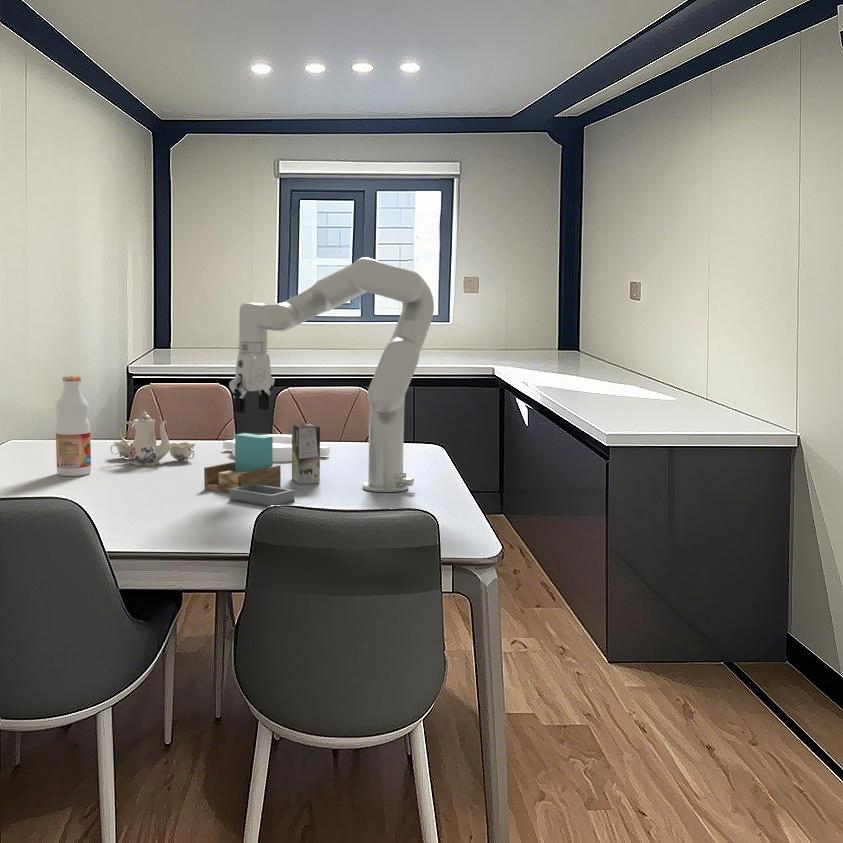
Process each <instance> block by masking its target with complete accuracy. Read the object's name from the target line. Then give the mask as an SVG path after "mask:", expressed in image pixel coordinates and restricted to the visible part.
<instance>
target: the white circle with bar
mask: <svg viewBox="0 0 843 843" xmlns="http://www.w3.org/2000/svg"><path fill="white" fill-rule="evenodd" d="M263 435H264V436H272V437H273V463H276V462H277V463H278V462H280V463H281V462H292V434H283V433H281V434H279V433H278V434H263ZM222 449H223V450H231V455H233V456H232V457H234V456H235V438H233V439H232V440H229V439H228V440H224V441H223V442H222ZM330 451H331V450H330V446H326V445H325V446H321V445H320V457H321V456H322V457H327V456H329V455H331V454H330Z"/></svg>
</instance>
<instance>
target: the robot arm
mask: <svg viewBox="0 0 843 843" xmlns="http://www.w3.org/2000/svg"><path fill="white" fill-rule="evenodd" d="M366 293H371V294H374V295H377V296H381V297H384V298H386V299H391V300H395V301H397V302H401V303H402V310H401V312H400V316H399V318H398V321H397V324H396V327H394V331H393V333H392V336H391V338H390V339H389V342H388V343H387V344H386V345H385V347H384V350H383V352H382V353H381V354H382V355H381V357H380V360H379V362H378V364H377V367H376V369H375V372H374V374H373V377H372V380H371V382H370V383H369V387H368V389H367V400H368V402H369V413H368V414H369V416H368V417H369V418H368V420H369V421H368V478H367V480H368V481H365V482H363V483H362V489H363V490H366V491H368V492H374V493H375V492H376V493H377V492H378V493H396V492H397V493H398V492H403V491H406V490H408V489H409V487H412V486H414V483H415V478H414V477H407V472H406V471H404V432H405V402H406V401H405V400H406V398H405V397H406V393H407V391H408V388H409V386H410V383H411V380H412V379H413V376H414V373H415V372H416V369H417V366H418V363H419V360H420V353H421V351H422V347H423V344H424V342H425V340H426V337H427V334H428V332H429V329H430V327H431V323H432V321H433V316H434V312H435V311H434V310H435V304H434V296H433V293H432V291H431V289H430V287H429V285H428V284H427V282H426V281H425V279H424V278H423V277H422V276H421V275H420V274H419V273H418V272H417V271H413V270H409V269H407V268H403V267H399V266H395V265H392V264H388V263H385V262H382V261H378V260H376V259H373V258H370V257H361V258H358V259H357V260H355V261H354V262H353V263H351V264H349V265H346V266H345V267H343V268H342V269H339V270H337V271H335V272H333V273H331V274H329V275H327V276H325V277H323V278H321V279H319V280H318V281H316V282H315V283H314V284H313V285H312V286H311V287H309V288H308V289H306V290H304V291H302V292H300V293H298V294H297V295H294V296H292V297H291V298H289V299H287V300H284V301H282V302H279V303H273V304H265V303H261V302H260V303H259V302H244V303H241V304H240V306H239V314H238V315H239V321H238V322H239V325H238V326H239V328H238V330H239V331H238V353H237V359H236V365H235V376H234V378H233V379H232V380H231V381H229V383H228V386H229V388H230V392H231V394H232V395H233V398H234V413H237V414H245V413H246V398H245V396H246V394H247V393H248V392H259V394H258V409H259V410H262V411H268V410H269V409H270V396H271V392H272V390H273V389H274V387H273V386H274V384H275V382H276V381H275V380H276V379H275V378H274V377H273V376H272V370H271V369H272V368H271V360H270V354H269V353H268V330H269V331H273V332H285V331H288V330H290V329H293V328H295V327H298V326H299V325H301V324H302V323H305V322H307V321H309V320H311V319H313V318H315V317H317V316H318V315H322V314H323V313H327V312H330V311H332V310H334V309H335V308H338V307H340V306H342V305H344V304H345V303H348V302H350V301H351V300H353V299H355V298H357V297H359V296H362V295H363V294H366Z"/></svg>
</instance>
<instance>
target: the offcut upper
mask: <svg viewBox="0 0 843 843" xmlns="http://www.w3.org/2000/svg"><path fill="white" fill-rule="evenodd" d="M219 482H223V483H229V484H235V485H240V484H241V472H234V471H225V472H220V473H219Z"/></svg>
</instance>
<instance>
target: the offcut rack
mask: <svg viewBox="0 0 843 843" xmlns="http://www.w3.org/2000/svg"><path fill="white" fill-rule="evenodd" d="M203 469H204V470H203V471H204V472H203V473H204V474H203V477H204V478H203V479H204V481H203V482H204V490H205V491H211V490H212V492H217V491H218V493H223V492H224V494H229V495H230V489H232V488H233V487H226V486H220V485H219V473H220V472H225V471H234V472H235V461H231V462H226V463H219V464H215V465H211V466H206V467H204V468H203ZM281 470H282V467H281V465H280V464H279V465H278V464H276V465H273V466H271V467H266V468H262V469H257V470H252V471H248V472H243V473H241V486H245V485H249V484H258V485H265V486H271V487H278V488H282V487H281V486H282V484H281V483H282V482H281V479H282V476H281V474H282V473H281Z"/></svg>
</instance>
